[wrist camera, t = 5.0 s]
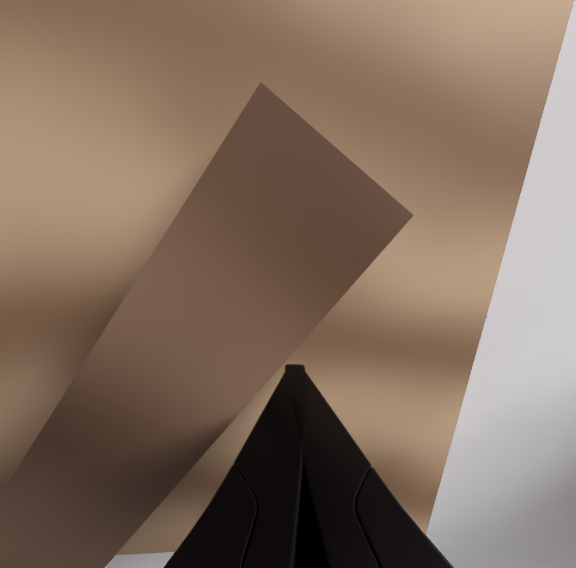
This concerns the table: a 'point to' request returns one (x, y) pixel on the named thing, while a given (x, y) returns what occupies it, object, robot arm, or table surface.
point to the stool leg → (197, 335)
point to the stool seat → (198, 154)
